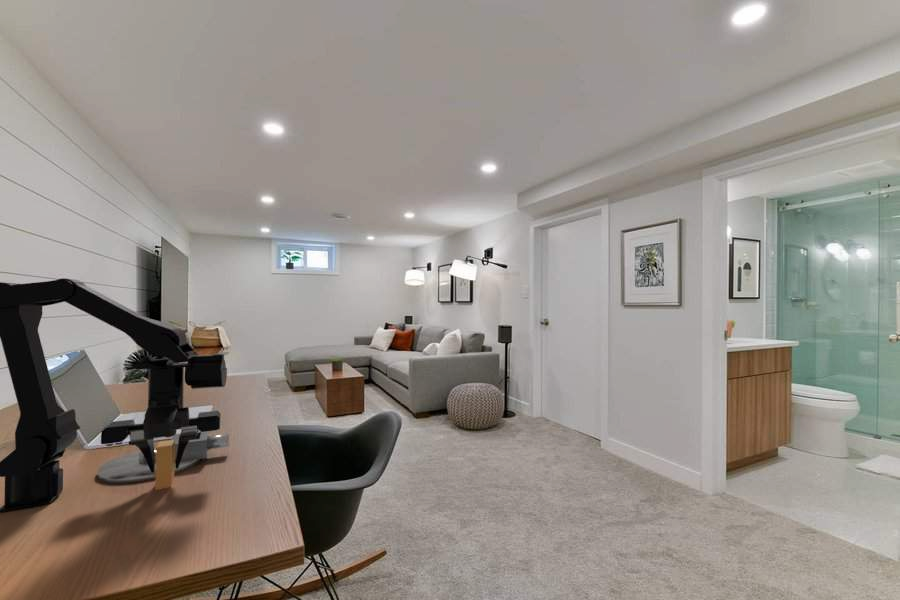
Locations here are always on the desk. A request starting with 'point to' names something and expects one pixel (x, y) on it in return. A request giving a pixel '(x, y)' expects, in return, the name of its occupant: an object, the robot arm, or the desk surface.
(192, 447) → the rosette bracket
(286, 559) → the desk surface
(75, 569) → the desk surface
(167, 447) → the yellow orange block
